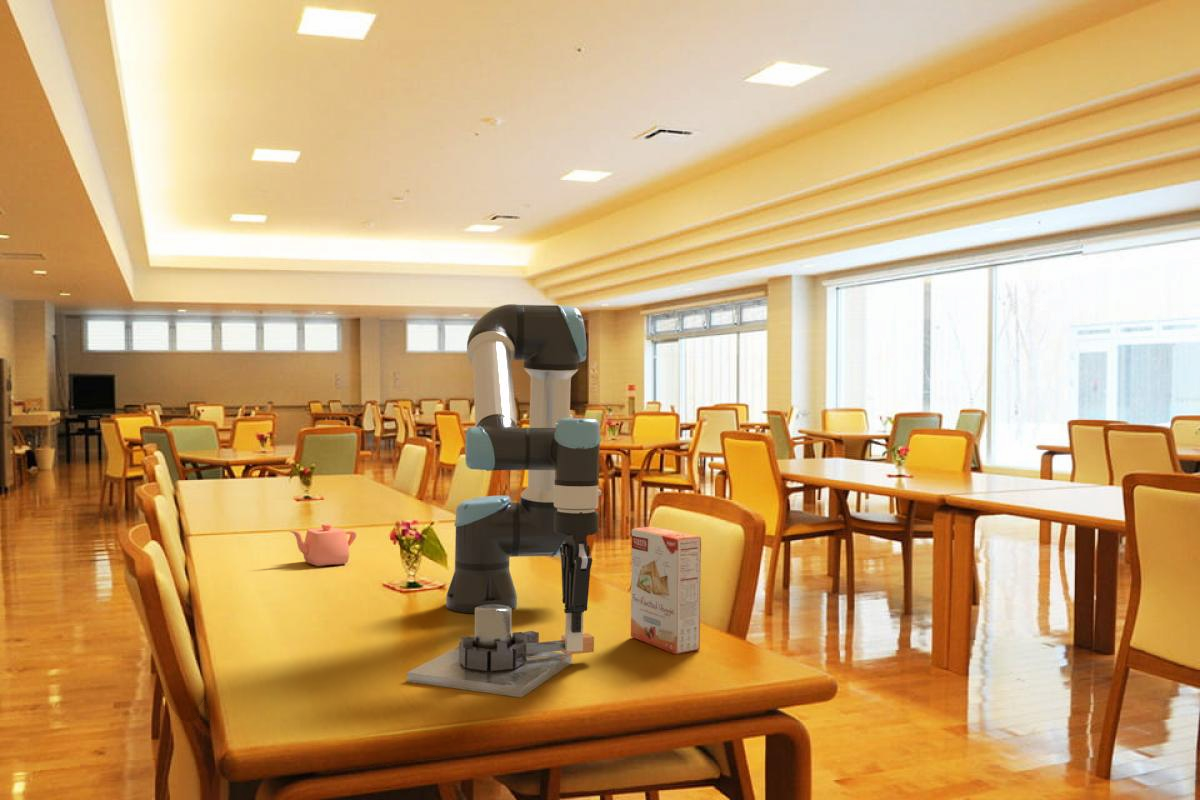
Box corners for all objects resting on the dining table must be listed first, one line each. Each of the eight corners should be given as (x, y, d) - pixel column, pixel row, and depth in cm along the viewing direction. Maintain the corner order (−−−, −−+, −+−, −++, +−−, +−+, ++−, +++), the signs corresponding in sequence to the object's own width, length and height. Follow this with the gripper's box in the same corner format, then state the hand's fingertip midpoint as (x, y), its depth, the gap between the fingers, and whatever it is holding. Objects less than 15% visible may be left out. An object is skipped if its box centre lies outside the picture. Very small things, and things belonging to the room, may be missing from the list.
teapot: (363, 564, 252) (364, 524, 252) (295, 570, 242) (295, 529, 242) (348, 557, 262) (349, 519, 262) (282, 563, 252) (282, 524, 252)
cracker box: (628, 638, 181) (630, 527, 180) (653, 634, 184) (655, 525, 184) (674, 655, 169) (676, 537, 169) (701, 651, 172) (702, 535, 172)
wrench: (470, 673, 151) (470, 646, 151) (453, 655, 160) (454, 630, 160) (602, 659, 160) (603, 634, 160) (579, 643, 169) (580, 620, 169)
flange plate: (407, 681, 152) (407, 615, 152) (467, 650, 171) (468, 591, 170) (521, 697, 145) (522, 628, 145) (571, 662, 164) (572, 601, 163)
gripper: (608, 514, 156) (605, 659, 156) (588, 505, 168) (585, 639, 168) (563, 515, 154) (560, 661, 154) (546, 505, 166) (544, 641, 166)
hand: (573, 650), depth 161 cm, fingers closed
